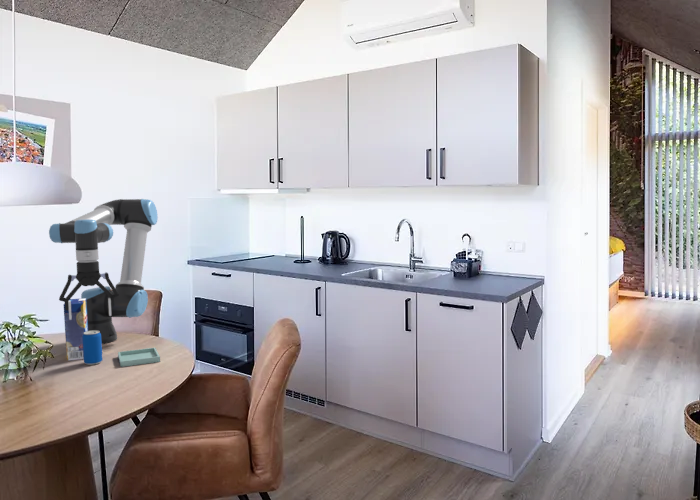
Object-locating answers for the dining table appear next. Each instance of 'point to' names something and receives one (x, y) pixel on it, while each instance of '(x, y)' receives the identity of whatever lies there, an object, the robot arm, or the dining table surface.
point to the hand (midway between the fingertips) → (90, 317)
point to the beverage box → (75, 328)
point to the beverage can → (92, 347)
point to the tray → (138, 357)
